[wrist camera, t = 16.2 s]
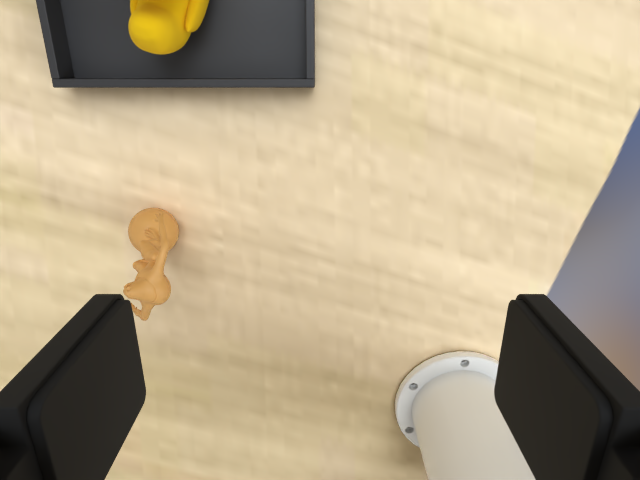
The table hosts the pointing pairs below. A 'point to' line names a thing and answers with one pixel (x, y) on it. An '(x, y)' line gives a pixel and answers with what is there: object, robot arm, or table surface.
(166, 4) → the duckling
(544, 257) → the table surface
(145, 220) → the figurine
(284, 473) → the table surface
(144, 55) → the pan
